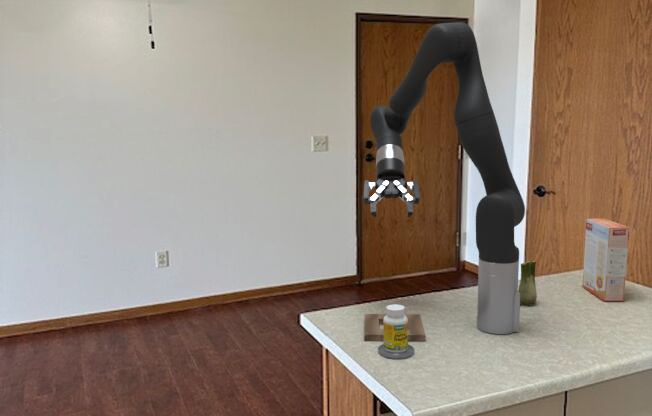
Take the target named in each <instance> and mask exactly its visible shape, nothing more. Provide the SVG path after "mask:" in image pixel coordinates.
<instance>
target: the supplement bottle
mask: <svg viewBox="0 0 652 416" xmlns="http://www.w3.org/2000/svg"><path fill="white" fill-rule="evenodd" d="M385 311H386V312H385V314H387V315H386V316H385V317H384V319H383V331H384V341H383V344H384V349H385V350H386V351H388V352H391V353H402V352H405V351H406V350H407V348H408V344H409V341H408V319H407V317H406V316H405V315H404V314H406V313H405V312H406V307H405V306H404V305H401V304H395V303H394V304H389V305H386V308H385Z"/></svg>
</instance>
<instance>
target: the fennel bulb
mask: <svg viewBox="0 0 652 416" xmlns="http://www.w3.org/2000/svg"><path fill="white" fill-rule="evenodd" d="M536 264H537V262H536V260H528V261H525V262H523V263H520V281H519V284H518V292H519V293H520V305H521V306H531V305H534V304H535V303H536V302H537V300H538V299H537V297H538V296H537V287H536Z"/></svg>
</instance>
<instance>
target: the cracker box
mask: <svg viewBox="0 0 652 416" xmlns="http://www.w3.org/2000/svg"><path fill="white" fill-rule="evenodd" d="M585 223H586V225H585V238H584V239H585V240H584V242H585V243H584V252H583V253H584V255H583V272H582V273H583V274H582V284H581V285H582V288H583V289H585V290H587V292H590V293H591V294H592V295H594V296H595V297H597V298H598V299H600V300H601V301H603V302H624V300H625V293H626V292H625V289H626V288H625V287H626V280H627V279H626V278H627V277H626V275H627V266H628V265H627V262H628V253H629V251H628V249H629V240H630V227H629V226H628V225H624V224H621V223H618V222H616V221H613V220H610V219H608V218H603V217H602V218H601V217H600V218H599V217H598V218H586V222H585Z"/></svg>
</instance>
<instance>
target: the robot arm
mask: <svg viewBox="0 0 652 416" xmlns="http://www.w3.org/2000/svg"><path fill="white" fill-rule="evenodd" d="M476 39H477V38H476V37H475V34H474V31H473V29H472V28H471V26H470V25H469V24H468V23H466V22H461V21H458V22H457V21H456V22H454V21H453V22H443V23H442V22H441V23H436V24H434V25H433V26H431V27H430V28H429V29H428V30H427V32H426V33H425V35H424V37H423V39H422V41H421V43H420V45H419V48H418V49H417V52H416V54H415V56H414V58H413V60H412V63H411V65H410V67H409V68H408V71H407V73H406V75H405V77H404V78H403V80H401V82H400V84H398V86H397V88H396V89H395V91H394V92H393V94H392V95H391V96H390V98H389V102H388V104H389V107H387V106H384V105H378V106H376V107H374V109H373V110H372V111H371V113H370V117H369V126H370V130H371V132H372V134H373V137H374V140H375V142H376V156H375V161H376V162H375V172H376V173H375V174H376V175H375V180H376V181H374V182H370V181H369V180H367V179H366V180H364V182H363V183H364V185H363V187H364V188H363V204H365V205H369V206H370V215H371V216H373V218H377V204H378V202H380V201H381V200H382V199H383V198H385V199H398V198H399V199H400V200H401V201H402V202H404V203H406V212H407V213H406V215H407V218H411V217H412V216H413V214H414V204H416V205H419V204H420V198H421V194H420V188H419V180H417V179H413V181H408V182H407V180H406V171H405V170H406V168H405V167H406V166H405V165H406V164H405V156H404V151H403V150H404V149H403V148H404V147H403V138H402V134H403V133H405V131H406V129H407V126H408V123H409V120H410V118H411V115H412V113H413V112H414V110H415V109H416V107H417V106H418V105H419V103H420V102H421V101H422V100H423V98H424V97H425V94H426V92H427V87H428V79H429V75H430V74H431V73H432V72H433V71H434V70H435V69H436V68H437V67H438V66H440V65H441V64H448V63H449V64H450V63H453V67H454V69H455V72H456V77H457V81H458V82H457V83H458V92H457V97H456V101H455V106H454V113H453V114H454V115H453V117H454V118H453V120H454V124H455V127H456V131H457V134H458V137H459V141H460V143H461V145H462V148H463V150H464V152H465V153H466V155H467V156H468V157H469V159H470V160H471V163H473V165H474V166H475V167H476V170H478V172H479V175H480V177H481V180H482V182H483V186H484V190H485V194H486V195H485V196H483V197H482V198H481V199H480V200H479V202H478V204H477V207H476V211H475V243H476V245H475V246H476V248H477V252H478V274H477V275H478V279H477V304H476V305H477V308H476V309H477V310H476V311H477V314H476V327H477V329H479V330H480V331H483V332H485V333H488V334H494V335H508V334H512V333H519V332H520V313H521V312H520V308H521V306H520V305H521V304H520V293H519V292H518V290H519V271H520V270H519V268H520V267H519V265H520V262H519V261H520V249H519V248H518V246H516V244H515V227H517V226H519V225H520V224H521V222H522V221H523V220H524V218H525V213H526V207H525V203H524V199H523V197H522V194H521V193H520V189H519V187H518V185H517V183H516V181H515V178H514V176H513V173H512V170H511V168H510V163H509V161H508V157H507V154H506V150H505V147H504V144H503V141H502V135H501V131H500V129H499V125H498V121H497V118H496V115H495V113H494V110H493V106H492V103H491V100H490V97H489V93H488V90H487V85H486V82H485V79H484V74H483V70H482V65H481V60H480V59H481V58H480V54H479V49H478V43H477V40H476ZM408 188H409V190H410V191H411V192H412V193H413V196H412V195H410V193H409V191H408V190H407V189H408ZM373 189H375V190H376V191H375V192H374V194H373V195H372V196H369V195H370V192H372V190H373Z"/></svg>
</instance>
